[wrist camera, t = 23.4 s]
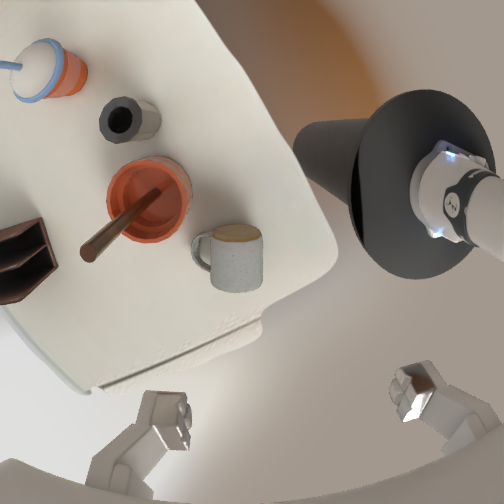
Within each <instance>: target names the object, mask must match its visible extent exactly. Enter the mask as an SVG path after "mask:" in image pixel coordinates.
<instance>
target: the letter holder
mask: <svg viewBox="0 0 504 504" xmlns="http://www.w3.org/2000/svg"><path fill="white" fill-rule="evenodd" d="M57 268H58V264H57V262H56V260H55V257H54V254H53V251H52V248H51V245H50V242H49V239H48V236H47V233H46V230H45V227H44V223H43V220H42V218H37V219H34V220H31V221H27V222H24V223H21V224H18V225H15V226H12V227H9V228H6V229H3V230H1V231H0V305H7V304H11V303H17V302H20V301H22V300H23V299H24V298H26V296H27V295H29V294H30V293H31V292H32V291H33V290H34V289H35V288H36V287H37V286H38V285H39V284H40V283H41V282H42V281H44V280H45V279H46V278H47V277H48V276H49V275H50V274H51V273H52V272H53V271H55V270H56V269H57Z"/></svg>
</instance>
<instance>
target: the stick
mask: <svg viewBox="0 0 504 504" xmlns="http://www.w3.org/2000/svg"><path fill="white" fill-rule="evenodd" d="M160 195H161V192H160V190H159V189H158V188H153V189H152V190H150V191H149V192H148V193H146V194H145V195H144V196H142V197H141V198H140V199H138V200H137V201H136V202H134V203H133V204H132V205H131V206H129V207H128V208H127V209H125V210H124V211H123V212H122V213H120V214H119V215H118V216H117V217H115V218H114V219H113V220H112V221H110V222H109V223H108V224H107V225H106V226H104V227H103V228H102V229H101V230H100V231H98V232H97V233H96V234H95V235H94V236H93V237H91V238H90V239H89V240H88V241H87V242H86V243H84V244H83V245H82V246H81V248H80V255H81V257H82V259H83V260H84V261H86V262H88V263H91V262H94V261H95V260H96V259H97V258H98V257H99V255H100V254H101V253H102V252H103V251H104V250H105V249H106V248H107V247H108V246H109V245H110V244H111V243H112V242H113V241H114V240H115V239H116V238H117V237H118V236H119V235H120V234H121V233H122V232H123V231H124V230H125V229H126V228H127V227H128V226H129V225H130V224H131V223H132V222H133V221H134V220H135V219H136V218H137V217H138V216H139V215H140V214H142V213H143V212H144V211H145V210H146V209H147V208H148V207H149V206H150V205H151V204H152V203H153V202H154V201H155V200H157V199H158V198H159V197H160Z"/></svg>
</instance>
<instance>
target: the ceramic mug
mask: <svg viewBox="0 0 504 504" xmlns="http://www.w3.org/2000/svg"><path fill="white" fill-rule="evenodd" d="M204 236H208V237H212V238H211V266H210V265H208V264H206V263H205V262H204V261H203V260H202V259H201V258H200V256H199V243H200V238H201V237H204ZM191 254H192V258H193V260H194V261H195V263H196V264H197V265H198V266H199V267H201V268H202V269H204V270H206V271H208V272H210V273H211V275H210V279H211V283H212V285H213V286H214V287H215V288H217V289H219V290H222V291H225V292H231V293H243V292H249V291H253V290H255V289H257V288H258V287H260V286H261V284H262V282H263V240H262V234H261V232H260V230H259V229H257V228H256V227H254V226H250V225H244V224H230V225H224V226H220V227H218V228H216V229H215V230H214V232H211V231H210V232H204V233H201V234H199V235H198V236H197V237H196V238H195V239H194V240H193V242H192V245H191Z"/></svg>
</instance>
